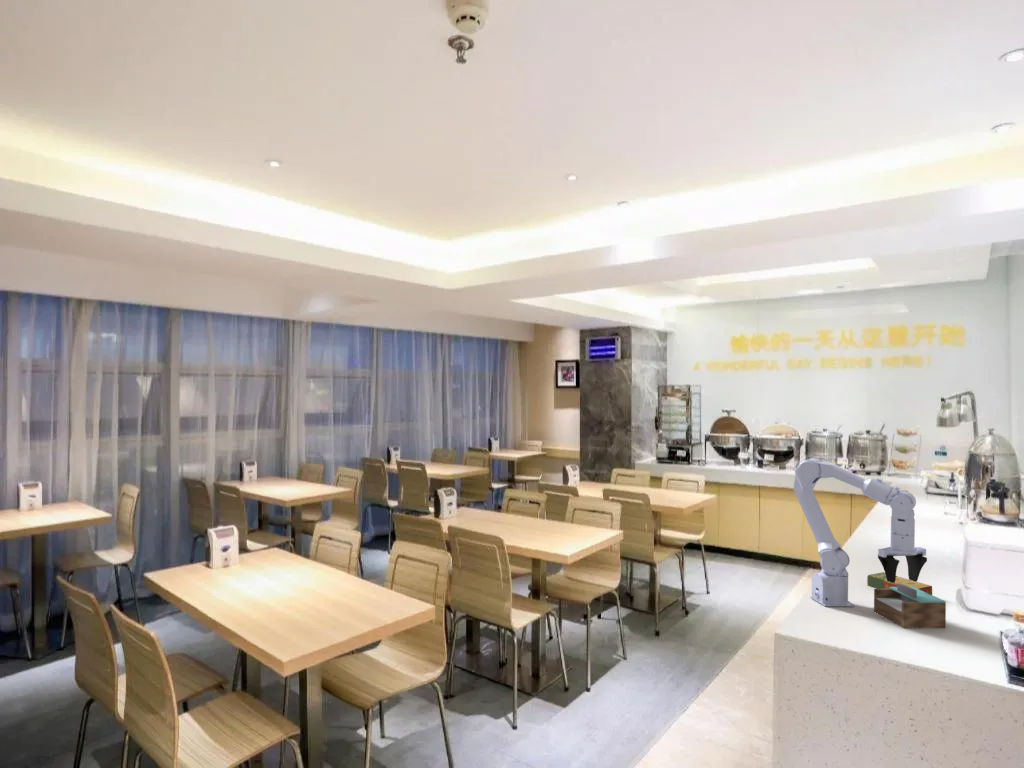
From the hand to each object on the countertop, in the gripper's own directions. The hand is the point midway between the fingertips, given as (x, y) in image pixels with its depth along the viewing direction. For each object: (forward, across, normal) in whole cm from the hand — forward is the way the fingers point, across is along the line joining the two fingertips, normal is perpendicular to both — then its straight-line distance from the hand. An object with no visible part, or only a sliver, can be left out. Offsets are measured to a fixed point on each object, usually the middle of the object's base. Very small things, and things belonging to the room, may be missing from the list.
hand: (902, 581), depth 169 cm
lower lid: (+6, -2, -2) cm, 7 cm away
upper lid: (+3, +3, -2) cm, 5 cm away
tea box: (+10, 0, -2) cm, 10 cm away
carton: (+11, +19, +20) cm, 29 cm away
